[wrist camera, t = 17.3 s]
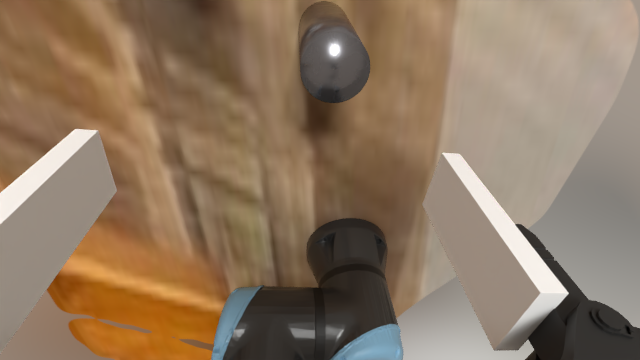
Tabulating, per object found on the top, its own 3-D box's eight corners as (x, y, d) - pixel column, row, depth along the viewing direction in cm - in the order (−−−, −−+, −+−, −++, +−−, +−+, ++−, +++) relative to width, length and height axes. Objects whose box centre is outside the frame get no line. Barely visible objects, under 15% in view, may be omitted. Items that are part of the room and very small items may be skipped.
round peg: (343, 58, 41) (361, 106, 30) (296, 52, 41) (297, 99, 30) (353, 5, 38) (377, 38, 27) (301, -3, 37) (304, 28, 26)
